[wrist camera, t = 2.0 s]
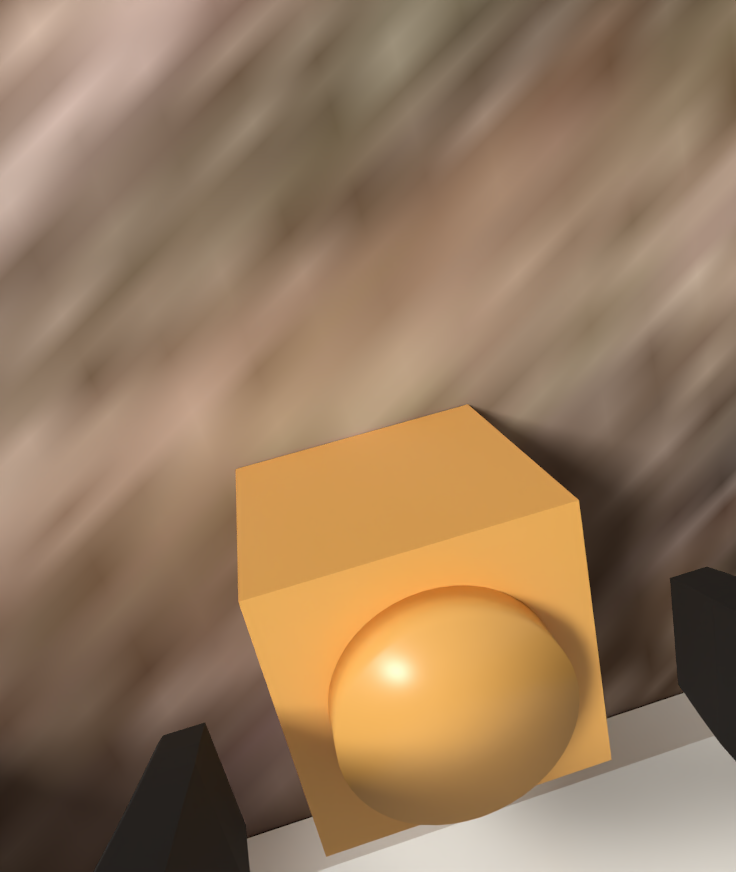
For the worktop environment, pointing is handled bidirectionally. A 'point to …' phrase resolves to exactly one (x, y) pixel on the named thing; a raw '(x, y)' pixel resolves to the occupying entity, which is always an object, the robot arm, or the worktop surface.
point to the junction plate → (568, 815)
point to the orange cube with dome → (420, 624)
